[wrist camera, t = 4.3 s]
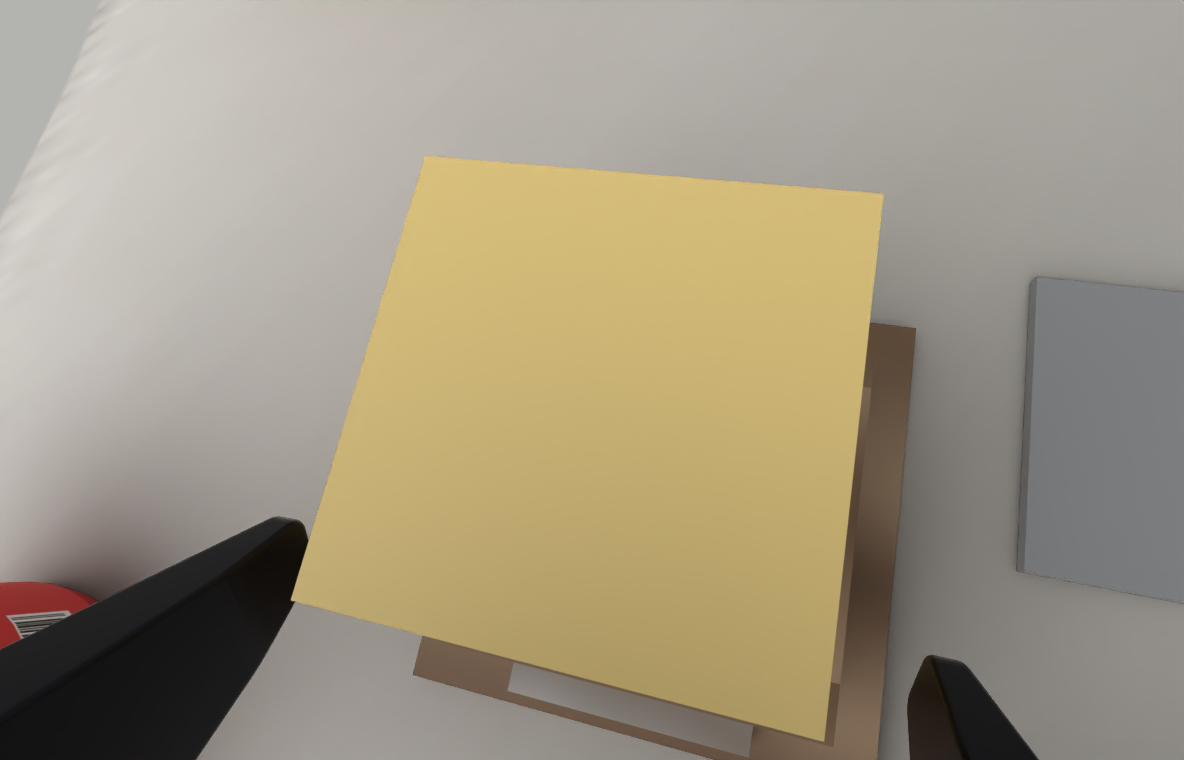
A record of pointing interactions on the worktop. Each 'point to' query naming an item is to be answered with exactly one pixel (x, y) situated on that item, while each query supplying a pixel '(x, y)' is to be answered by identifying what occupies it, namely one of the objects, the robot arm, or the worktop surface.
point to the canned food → (35, 608)
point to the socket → (851, 739)
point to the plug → (611, 431)
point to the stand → (1104, 438)
